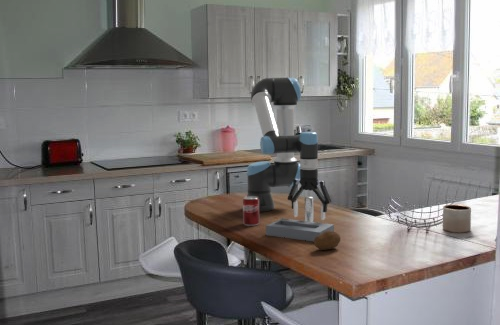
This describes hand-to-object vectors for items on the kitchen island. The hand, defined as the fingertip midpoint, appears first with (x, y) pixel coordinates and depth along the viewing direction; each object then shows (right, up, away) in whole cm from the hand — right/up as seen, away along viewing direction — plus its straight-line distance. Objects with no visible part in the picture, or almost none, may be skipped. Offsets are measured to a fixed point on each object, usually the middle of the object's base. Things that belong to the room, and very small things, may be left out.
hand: (309, 217), depth 235 cm
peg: (0, -4, +1) cm, 4 cm away
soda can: (-25, -4, +8) cm, 26 cm away
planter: (+60, -4, -9) cm, 61 cm away
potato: (+3, -8, -33) cm, 34 cm away
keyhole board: (-5, -6, -11) cm, 14 cm away
